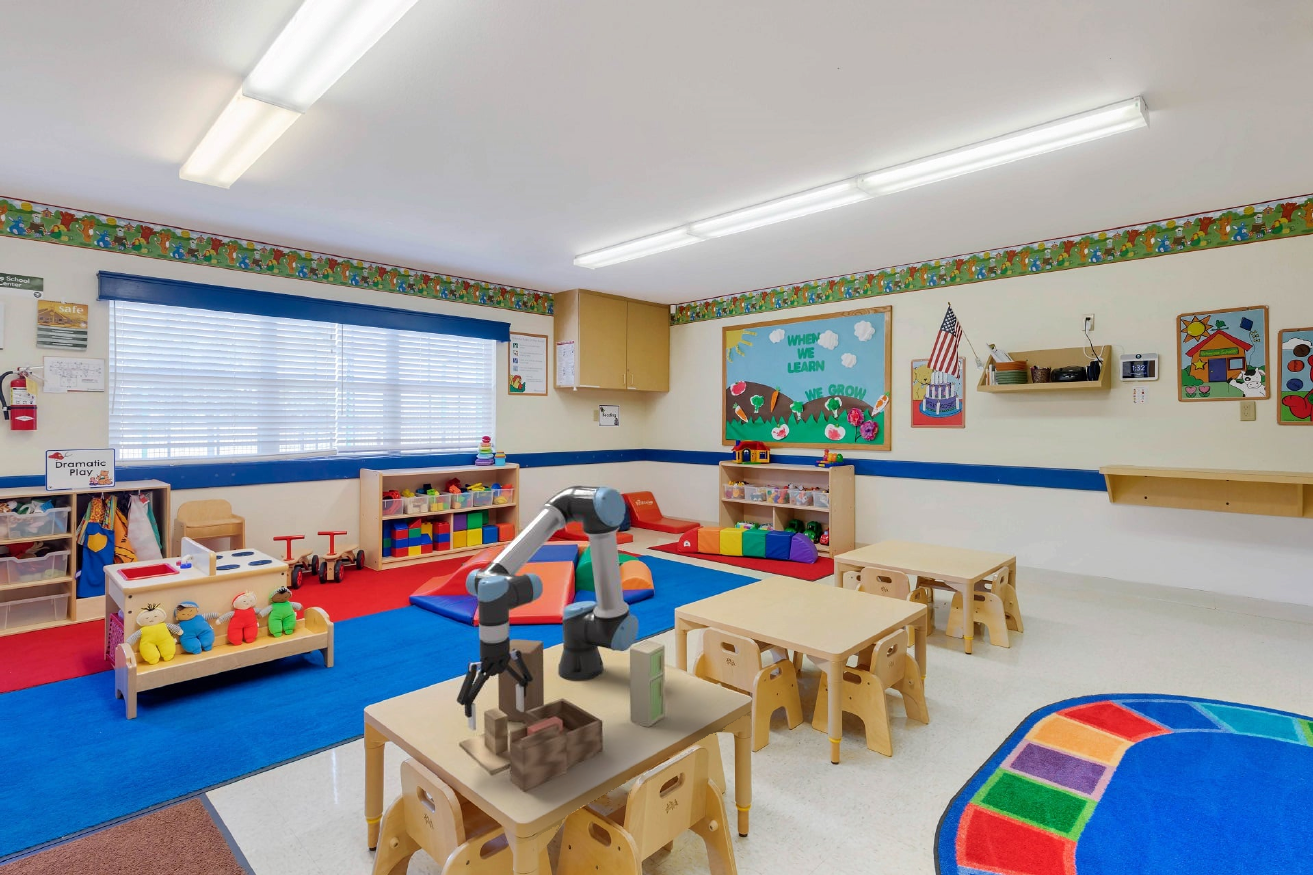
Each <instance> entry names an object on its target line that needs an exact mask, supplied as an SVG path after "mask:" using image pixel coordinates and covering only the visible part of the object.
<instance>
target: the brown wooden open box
mask: <svg viewBox="0 0 1313 875" xmlns="http://www.w3.org/2000/svg"><path fill="white" fill-rule="evenodd" d="M555 716H556V717H557V718H559V719H561V720H562V731H561V732H559V725H555V726H552V727H550V728H547V729H545V730H542V731H540V732H537V733H534V734H532V735H529V736H527V727H529V726H531V725H534V724H537V723H539V722H542V721H545V720H547V719H550V718H552V717H555ZM509 734H510V767H509V772H510V773H509V775H510V776H509V781H510V782H511V783H512V784H513V785H515V787H517V788H519V789H520V790H521V791H522V792H526V791H528V790H530V789H532V788H534V787H537V786H539V785H541V784H543V783H545V782H547V781H550V780H552V779H555V778H556V777H558V776H561V775H564V774H565V773H567V772H568V768H570V767H572V766H574V765H576V764H578V763H580V762H582V761H585V760H587V759H589V758H592V757H593V756H597V755H598V754H600V753H603V752H604V751H603V748H604V745H603V743H604V742H603V739H604V738H603V720H602V719H600V718H598V717H596V716H595V715H593V714H592V713H590V712H588V711H586V710H584V709H582V708H581V707H580V706H577V705H575V704H574V703H572V702H570V701H569V700H567V699H565V698H563V697H562V698H560V699H557V700H554V701H551V702H548V703H546V704H545V703H544V705H543V706H540V707H537V708H534V709H531V710H529V711H526V712H525V722H524V725H523V726H521V727H519V728H516V729H512V730H511V731H509Z"/></svg>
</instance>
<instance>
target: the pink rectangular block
mask: <svg viewBox="0 0 1313 875" xmlns="http://www.w3.org/2000/svg"><path fill="white" fill-rule="evenodd" d="M555 725H559V732H561V731H562V720H561V719H559V718H557V717H556V716H555V717H552V718H550V719H547V720H545V721H542V722H539V723H537V724H534V725H531V726H529V727H527V736H529V735H532V734H534V733H537V732H540V731H542V730H545V729H547V728H550V727H552V726H555Z"/></svg>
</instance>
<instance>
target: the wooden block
mask: <svg viewBox="0 0 1313 875" xmlns="http://www.w3.org/2000/svg"><path fill="white" fill-rule="evenodd" d="M513 649H517V650H519V651H520V652H521V657H522V660H523V662H524V663H525V665H526V667H527V669H528V671H529V672H530V674H531V676H532V678H533V680H532V681H531V682H530V681H529V682H528V686H527V687H526V697H524V712H520V711H519V710H518V709H516V685H517V684H519V683H518V682H517V681H516V680H515V679H514V678H513V677H512V676H511V675H510V674H509V673H507V672H506V671H505V670H504V671H503V673H501V674H497V676H498V679H497V680H498V682H497V683H498V709H499V710H501V711H502V712H503V713H505V714H506V715H508V721H510V722H521V723H522V722H523V723H525V712H526V711H529V710H531V709H534V708H537V707H540V706H543V705H545V700H544V699H545V697H544V695H545V693H544V692H545V689H544V684H545V683H544V682H545V681H544V675H545V674H544V642H543V641H541V640H531V639H529V640H528V639H515V638H514V639H510V651H509V652H512V650H513ZM508 665H509V666H510V667H511V668H512V669H513V670H514V671H515V672H516V673H517V674H519V675H520V676H521V677H522V678H523V675H522V673H521V671H520V670H519V668H518V666H517V664H516V662H515V661H514V659H512V657H511V659H510V661H509V663H508Z"/></svg>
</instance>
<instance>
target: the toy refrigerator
mask: <svg viewBox="0 0 1313 875" xmlns="http://www.w3.org/2000/svg"><path fill="white" fill-rule="evenodd" d="M665 652H666V651H665V645H664V644H662V643H658V642H656V641H655V642H654V641H651V640H644V641H642V642H639V643H637V644H636V645H634V646H633V645H632V646H631V647H630V648H629V667H630V668H629V678H630V679H629V681H630V682H629V683H630V686H629V688H630V690H629V691H630V692H629V693H630V694H629V697H630V702H629V703H630V704H629V707H630V714H629V715H630V721H631V722H632V723H636V724H639V725H641V726H643V727H644V726H645V727H647V728H650V726H651V727H652V725H654V724H655V723H657V722H659V721H661V719H663V718H665V717H666V713H665V712H666V709H665V708H666V706H665V705H666V704H665V703H666V702H665V701H666V699H665V690H666V688H665V687H666V686H665V682H666V681H665V680H666V679H665V675H666V674H665V673H666V672H665V670H666V669H665V666H666V665H665V663H666V662H665V661H666V660H665Z"/></svg>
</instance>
